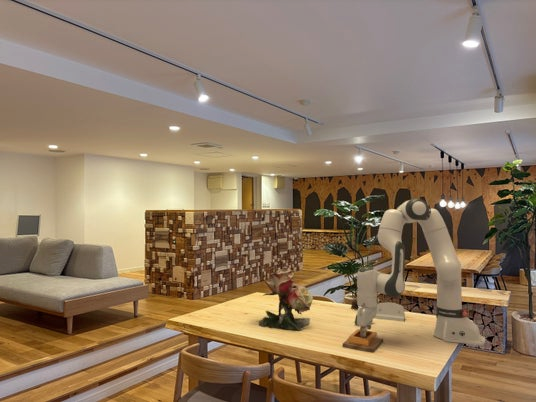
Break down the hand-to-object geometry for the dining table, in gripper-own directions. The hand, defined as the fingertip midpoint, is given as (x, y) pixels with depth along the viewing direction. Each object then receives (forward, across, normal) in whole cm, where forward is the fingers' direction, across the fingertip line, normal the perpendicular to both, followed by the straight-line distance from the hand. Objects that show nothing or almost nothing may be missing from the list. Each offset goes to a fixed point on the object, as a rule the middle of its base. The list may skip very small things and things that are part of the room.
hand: (366, 331), depth 186 cm
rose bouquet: (+5, +8, +46) cm, 47 cm away
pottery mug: (+5, +58, +22) cm, 62 cm away
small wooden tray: (+3, -6, 0) cm, 6 cm away
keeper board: (+4, -6, 0) cm, 8 cm away
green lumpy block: (+5, +27, +9) cm, 29 cm away
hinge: (+5, +45, 0) cm, 46 cm away
